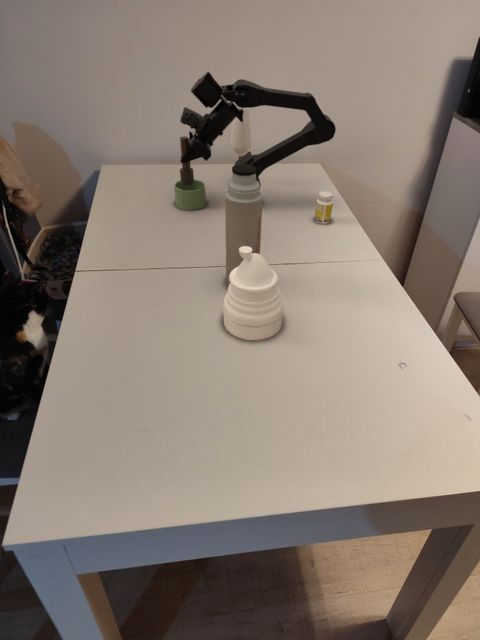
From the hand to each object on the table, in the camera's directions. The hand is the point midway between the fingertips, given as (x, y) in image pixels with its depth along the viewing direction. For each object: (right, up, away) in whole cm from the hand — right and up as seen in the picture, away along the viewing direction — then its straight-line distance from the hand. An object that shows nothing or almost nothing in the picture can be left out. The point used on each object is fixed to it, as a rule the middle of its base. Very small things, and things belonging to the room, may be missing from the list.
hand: (181, 160), depth 131 cm
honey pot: (+22, -50, -33) cm, 63 cm away
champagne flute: (+16, +2, +23) cm, 28 cm away
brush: (+1, -5, +5) cm, 7 cm away
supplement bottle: (+42, -16, +5) cm, 46 cm away
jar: (+1, -9, +10) cm, 14 cm away
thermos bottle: (+19, -39, -22) cm, 49 cm away
